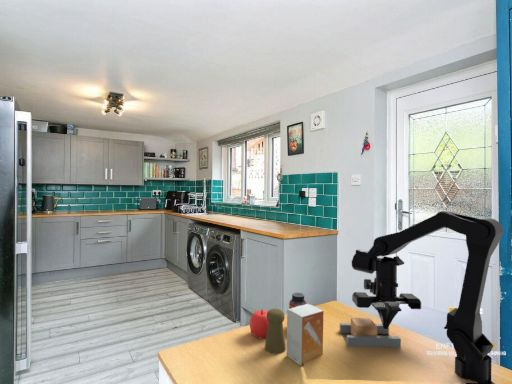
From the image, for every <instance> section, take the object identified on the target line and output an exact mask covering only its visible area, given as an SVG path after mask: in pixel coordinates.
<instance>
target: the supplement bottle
mask: <svg viewBox="0 0 512 384" xmlns="http://www.w3.org/2000/svg"><path fill="white" fill-rule="evenodd" d="M291 296H292V297H291V299H290V300H289V303H288V305H289V306H288V309H290V308H294V307H297V306H301V305H305V304H308V302H307V301H306V300H305V294H304V293H302V292H293V293H292V294H291Z"/></svg>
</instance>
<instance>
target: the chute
mask: <svg viewBox="0 0 512 384" xmlns="http://www.w3.org/2000/svg"><path fill="white" fill-rule="evenodd" d="M375 324H376V326H377V336H364V335H351V322H339V333H340V334H341V335H342V337H343V340H344V341H345V343H346V345H347V347H362V348H365V347H366V348H397V349H398V348H401V347H402V345H401V344H402V343H401V342H402V339H401V338H400V336H396V335H390V326H389V327H388V329H384V328H383V325H382V323H375Z"/></svg>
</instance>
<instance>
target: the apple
mask: <svg viewBox="0 0 512 384" xmlns="http://www.w3.org/2000/svg"><path fill="white" fill-rule="evenodd" d="M268 311H269V310H263V309H260V310H256V311H254V312H253V314H252V315H251V316H250V319H249V323H248V324H249V329H250V333H251V334H252V335H253V336H255V337H256V338H260V339H264V338H265V339H266V336H267V328H268V320H267V312H268Z"/></svg>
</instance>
